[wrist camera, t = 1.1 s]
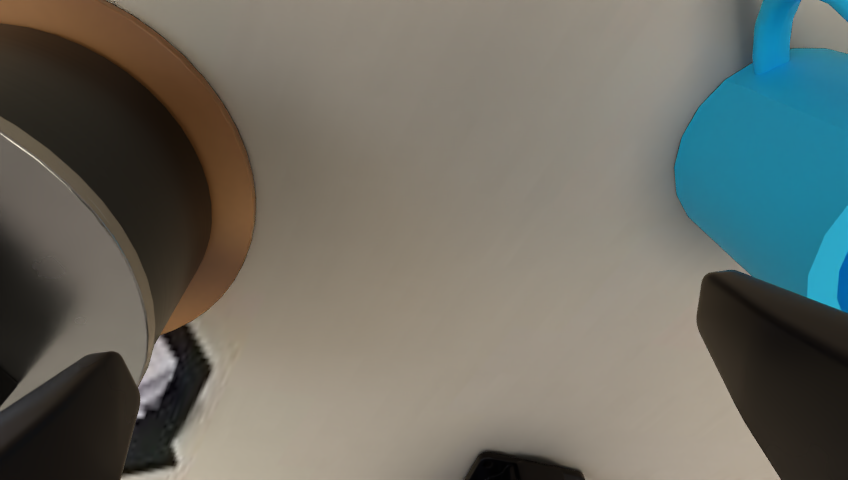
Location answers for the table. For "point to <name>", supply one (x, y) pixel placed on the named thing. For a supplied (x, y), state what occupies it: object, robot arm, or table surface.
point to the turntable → (189, 105)
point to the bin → (88, 211)
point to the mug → (776, 162)
